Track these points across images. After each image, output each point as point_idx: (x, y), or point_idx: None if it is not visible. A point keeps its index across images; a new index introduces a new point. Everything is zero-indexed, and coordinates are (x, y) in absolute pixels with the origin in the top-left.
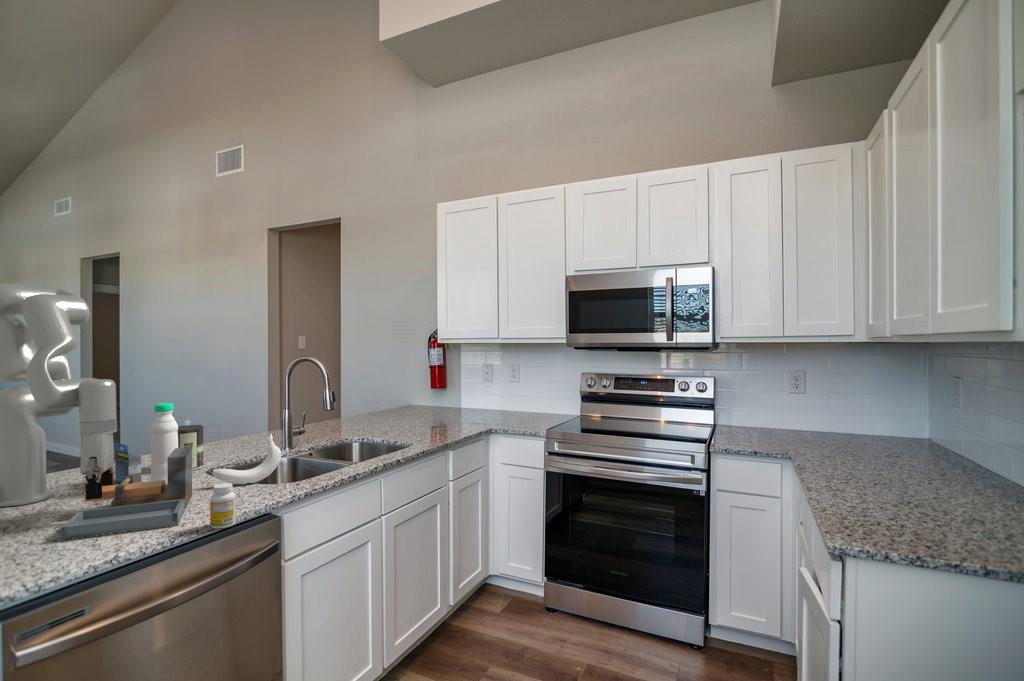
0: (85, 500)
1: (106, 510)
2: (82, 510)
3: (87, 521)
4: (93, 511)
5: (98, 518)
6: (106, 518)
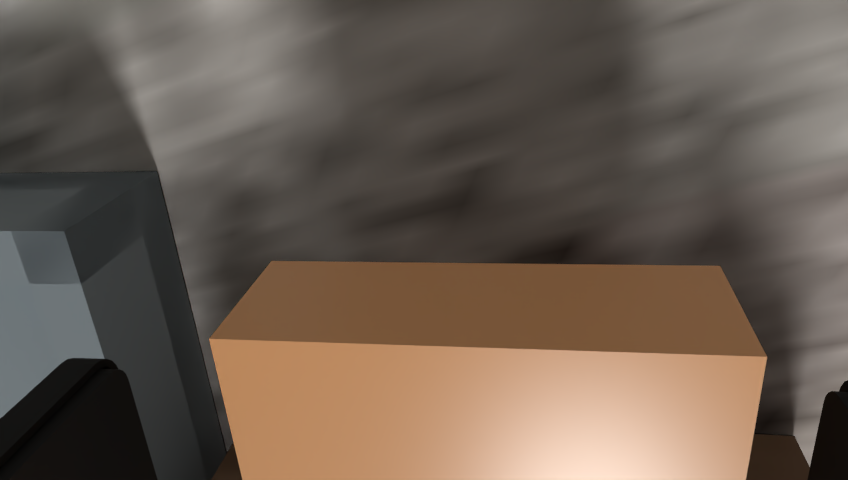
0: (264, 276)
1: None
2: (60, 264)
3: (27, 290)
4: None
5: None
6: None
